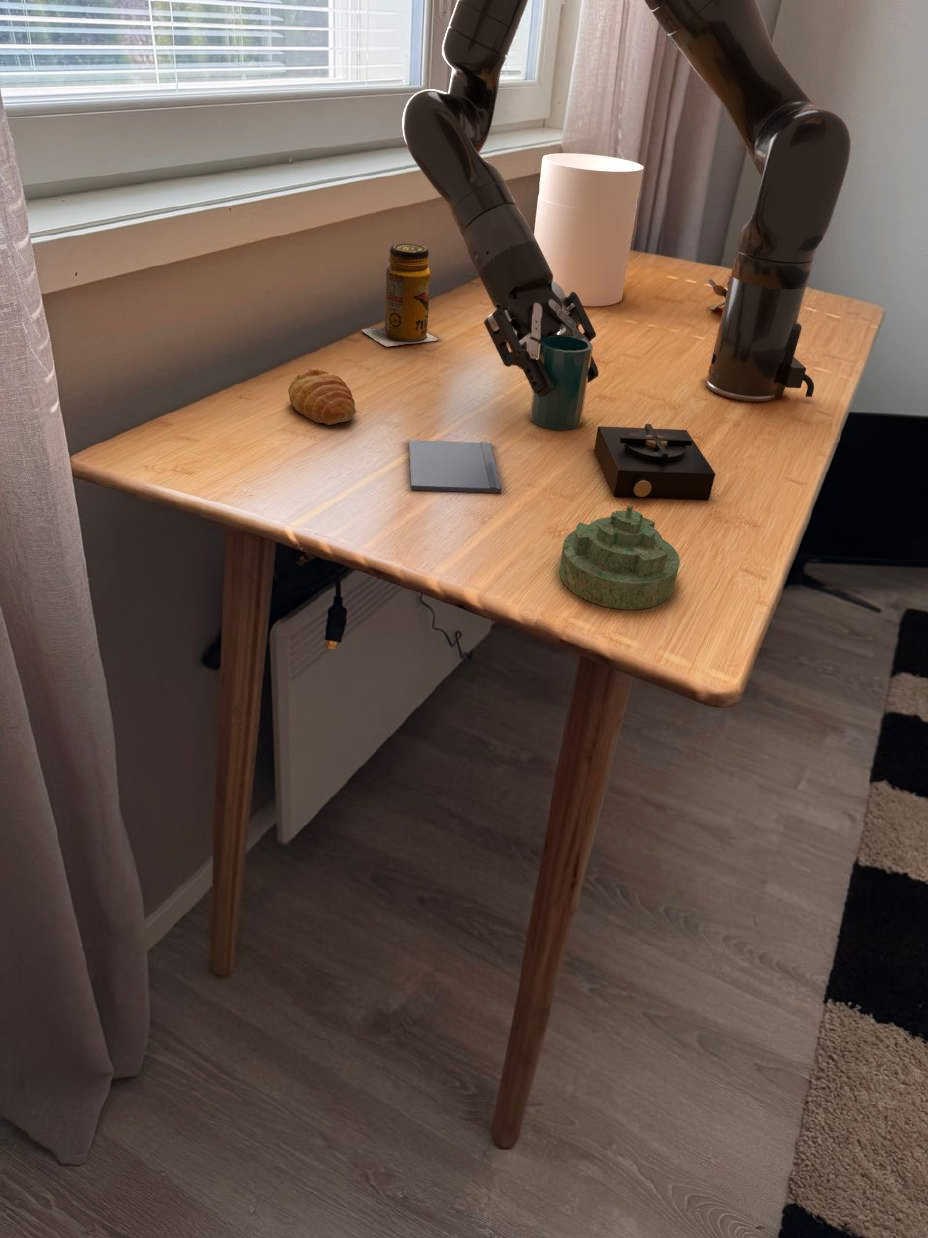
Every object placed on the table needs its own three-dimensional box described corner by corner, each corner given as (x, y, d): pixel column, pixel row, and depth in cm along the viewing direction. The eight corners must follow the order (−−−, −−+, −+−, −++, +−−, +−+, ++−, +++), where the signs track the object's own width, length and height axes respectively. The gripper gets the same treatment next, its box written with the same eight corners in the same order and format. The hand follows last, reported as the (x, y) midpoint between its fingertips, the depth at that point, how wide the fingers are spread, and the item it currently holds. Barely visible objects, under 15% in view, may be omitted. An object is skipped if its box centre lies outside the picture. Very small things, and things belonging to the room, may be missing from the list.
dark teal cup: (576, 411, 112) (587, 335, 107) (584, 431, 107) (597, 353, 102) (527, 409, 112) (536, 333, 106) (533, 429, 107) (543, 350, 101)
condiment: (439, 340, 130) (444, 251, 123) (386, 347, 126) (388, 256, 119) (412, 325, 135) (416, 238, 128) (361, 331, 131) (361, 242, 124)
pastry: (370, 423, 105) (370, 390, 102) (315, 432, 101) (314, 399, 99) (335, 394, 111) (334, 363, 109) (282, 402, 108) (280, 370, 106)
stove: (680, 454, 104) (688, 419, 101) (711, 504, 94) (721, 467, 92) (593, 451, 103) (599, 415, 100) (615, 501, 93) (622, 463, 91)
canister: (628, 309, 150) (651, 174, 139) (530, 301, 150) (545, 166, 138) (616, 283, 163) (636, 158, 152) (526, 275, 163) (539, 149, 151)
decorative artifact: (563, 541, 85) (554, 599, 77) (574, 472, 81) (565, 525, 73) (672, 558, 84) (674, 618, 76) (688, 488, 80) (693, 544, 72)
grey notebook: (490, 447, 102) (491, 442, 101) (500, 493, 93) (501, 487, 92) (408, 443, 101) (408, 438, 100) (411, 490, 92) (411, 484, 91)
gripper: (481, 245, 99) (548, 383, 99) (568, 232, 107) (630, 359, 107) (444, 284, 105) (508, 414, 105) (529, 268, 113) (588, 389, 113)
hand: (569, 386), depth 106 cm, fingers open, 7 cm apart
